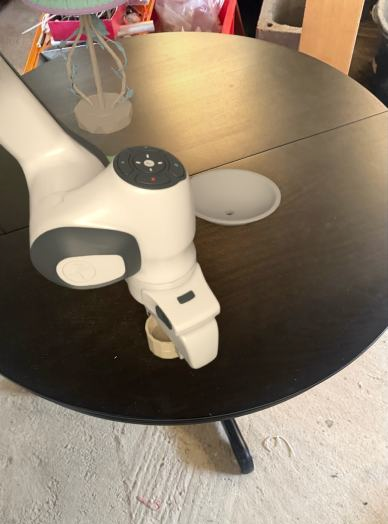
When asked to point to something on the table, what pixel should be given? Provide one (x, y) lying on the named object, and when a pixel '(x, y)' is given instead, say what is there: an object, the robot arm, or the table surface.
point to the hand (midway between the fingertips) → (168, 334)
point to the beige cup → (159, 340)
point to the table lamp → (101, 104)
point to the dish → (234, 196)
